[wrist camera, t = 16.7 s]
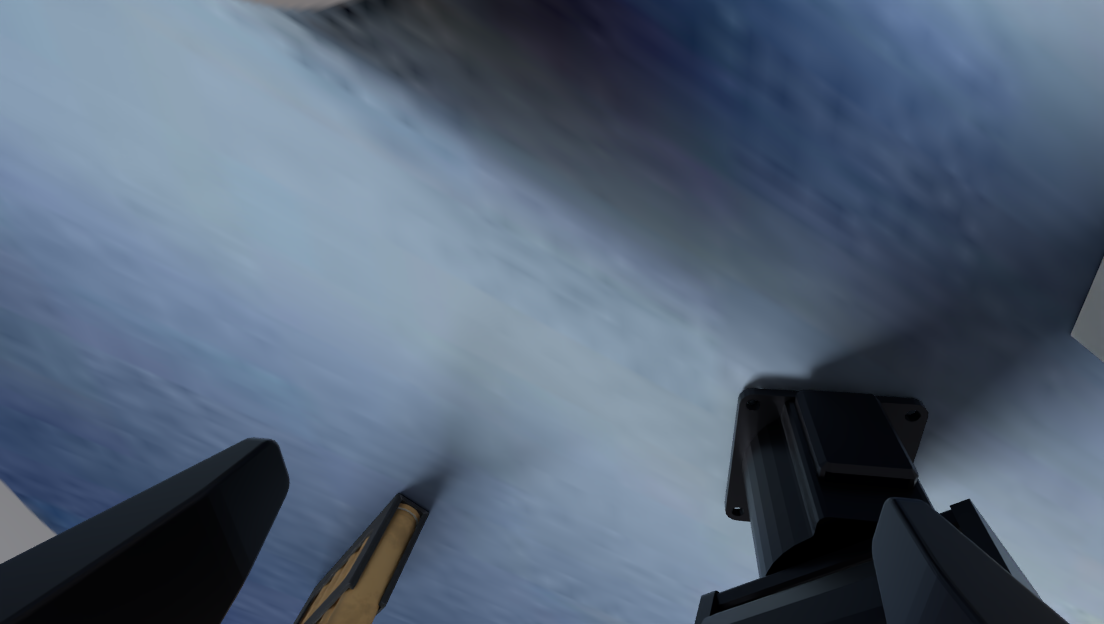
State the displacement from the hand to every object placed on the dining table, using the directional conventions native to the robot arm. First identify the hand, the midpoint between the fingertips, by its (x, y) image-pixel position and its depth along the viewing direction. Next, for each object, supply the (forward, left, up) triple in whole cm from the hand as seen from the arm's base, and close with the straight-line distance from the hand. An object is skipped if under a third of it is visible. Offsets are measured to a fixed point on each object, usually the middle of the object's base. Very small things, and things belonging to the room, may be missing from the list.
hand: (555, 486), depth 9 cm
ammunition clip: (-19, +13, -13) cm, 27 cm away
